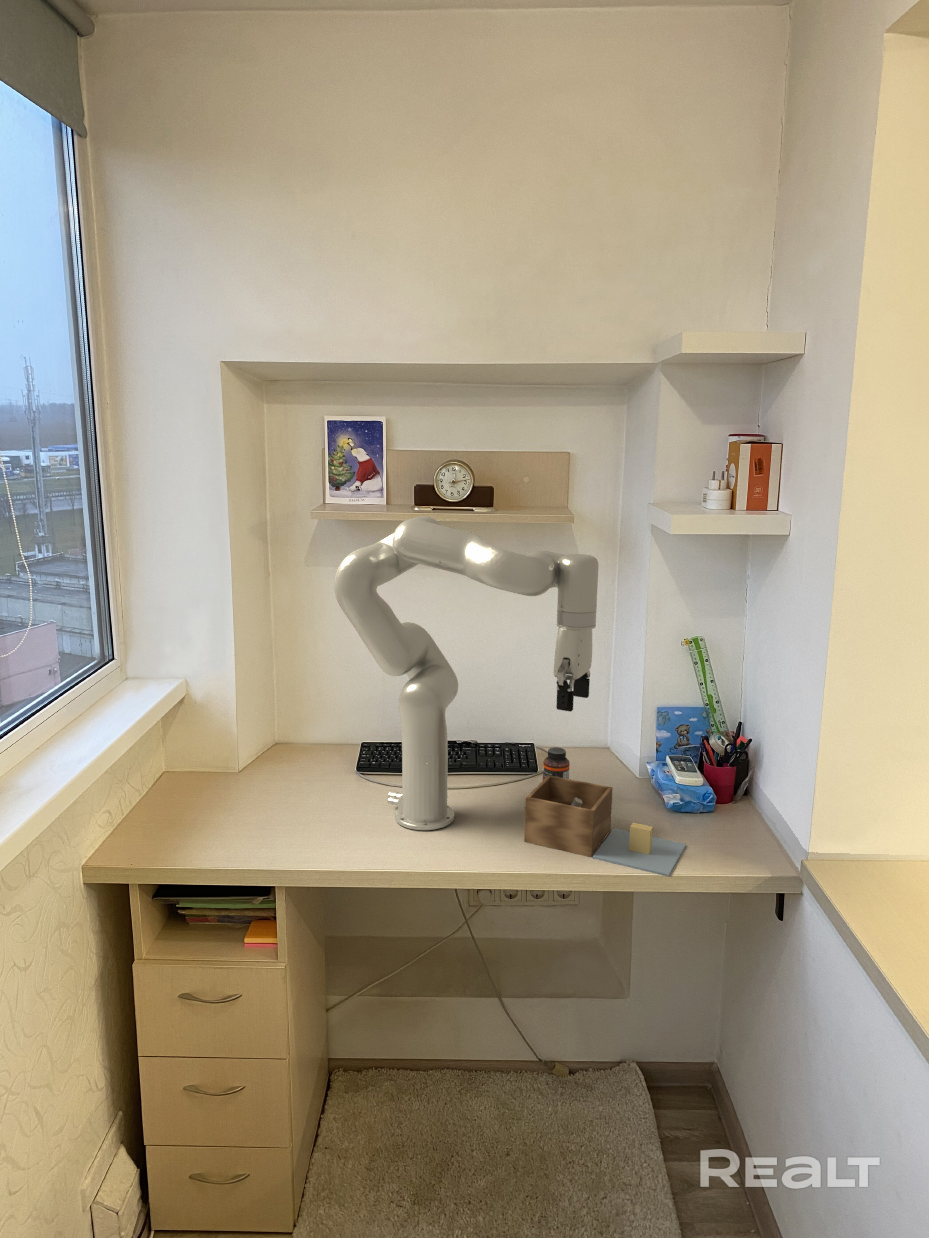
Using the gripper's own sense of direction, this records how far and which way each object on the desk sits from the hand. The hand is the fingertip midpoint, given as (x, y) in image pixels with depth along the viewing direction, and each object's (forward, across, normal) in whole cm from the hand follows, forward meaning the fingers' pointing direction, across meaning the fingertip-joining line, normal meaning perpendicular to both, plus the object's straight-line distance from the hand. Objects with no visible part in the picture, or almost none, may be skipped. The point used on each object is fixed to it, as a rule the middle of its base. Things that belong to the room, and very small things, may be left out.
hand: (572, 703), depth 170 cm
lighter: (+29, 0, -1) cm, 29 cm away
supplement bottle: (+29, -17, -9) cm, 34 cm away
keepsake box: (+28, 0, 0) cm, 28 cm away
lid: (+29, 0, +15) cm, 33 cm away
